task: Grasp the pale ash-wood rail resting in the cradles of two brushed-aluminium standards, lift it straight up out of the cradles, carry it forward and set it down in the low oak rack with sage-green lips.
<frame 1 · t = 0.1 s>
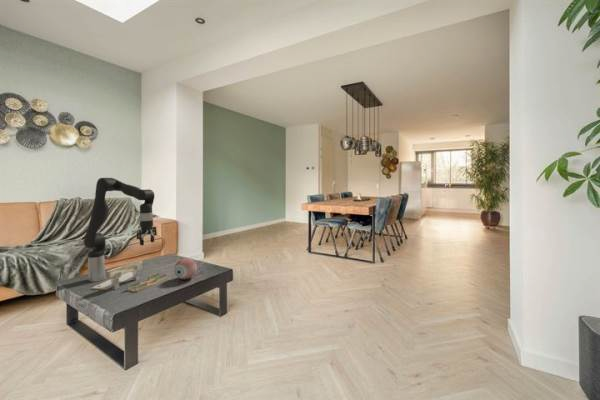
hand: (147, 243, 174), 29 cm above the table, fingers open, 8 cm apart
rack: (147, 283, 180), on the table
standard 1: (115, 288, 172), on the table
eyeball: (185, 279, 190), on the table
rail: (125, 272, 179), point 8 cm above the table, touching standard 2, standard 1
baseboard: (118, 281, 186), on the table
standard 2: (136, 279, 187), on the table
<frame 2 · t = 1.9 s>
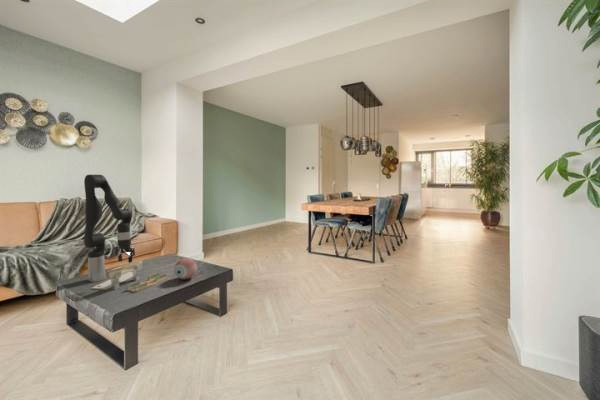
hand: (125, 261, 178), 16 cm above the table, fingers open, 8 cm apart
nothing on the table moved.
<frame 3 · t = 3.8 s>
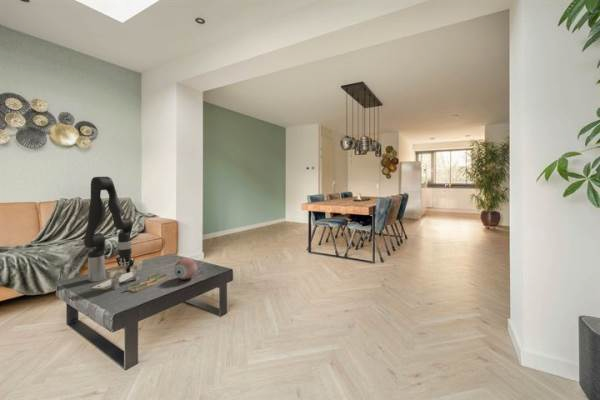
hand: (125, 272, 179), 8 cm above the table, fingers closed on rail, 3 cm apart
rail: (125, 272, 179), point 8 cm above the table, touching gripper, standard 2, standard 1
everything else where it was.
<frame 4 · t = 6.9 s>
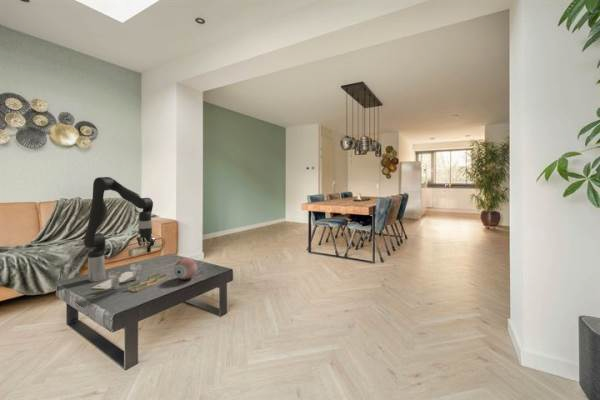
hand: (146, 251, 178), 22 cm above the table, fingers closed on rail, 3 cm apart
rail: (146, 251, 178), point 22 cm above the table, touching gripper
everything else where it was.
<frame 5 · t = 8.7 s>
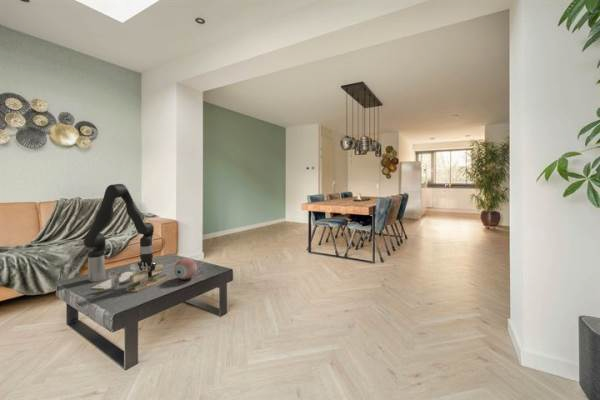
hand: (147, 276, 180), 5 cm above the table, fingers closed on rail, 3 cm apart
rail: (147, 276, 180), point 5 cm above the table, touching gripper
everything else where it was.
when the fingers open (1 cm above the table, at t = 10.1 s): rail stays where it is, resting on rack.
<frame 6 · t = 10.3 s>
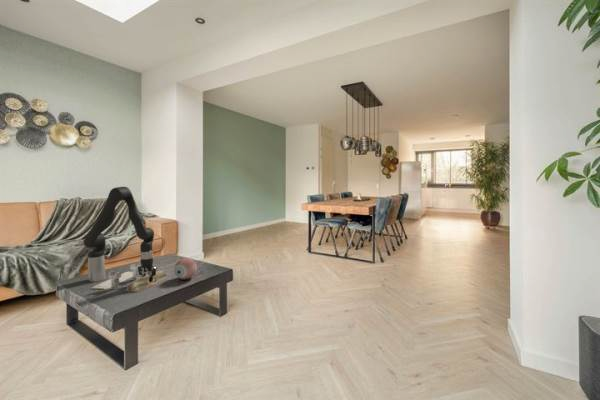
hand: (147, 281, 180), 2 cm above the table, fingers open, 5 cm apart
rail: (147, 283, 180), point 1 cm above the table, touching rack
everything else where it was.
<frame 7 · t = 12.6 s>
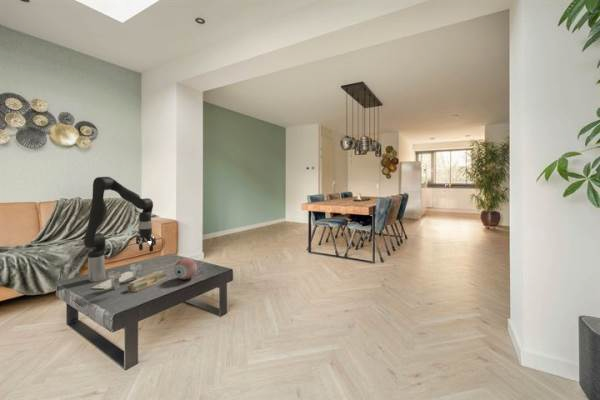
hand: (146, 250, 180), 23 cm above the table, fingers open, 8 cm apart
nothing on the table moved.
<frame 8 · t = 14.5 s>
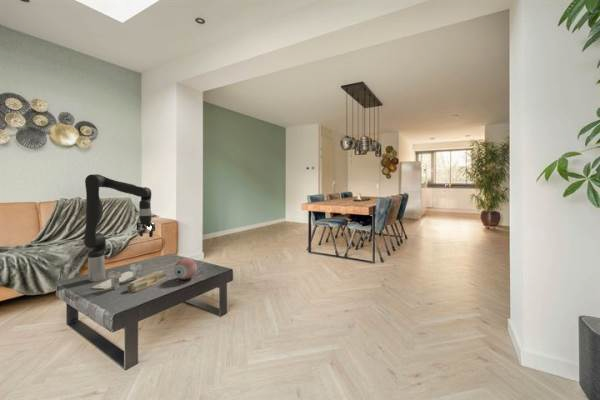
hand: (146, 236, 191), 30 cm above the table, fingers open, 8 cm apart
nothing on the table moved.
at the end: rail 0.2 cm from the rack (horizontally); rail point 0.6 cm above the table; the gripper is holding nothing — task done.
